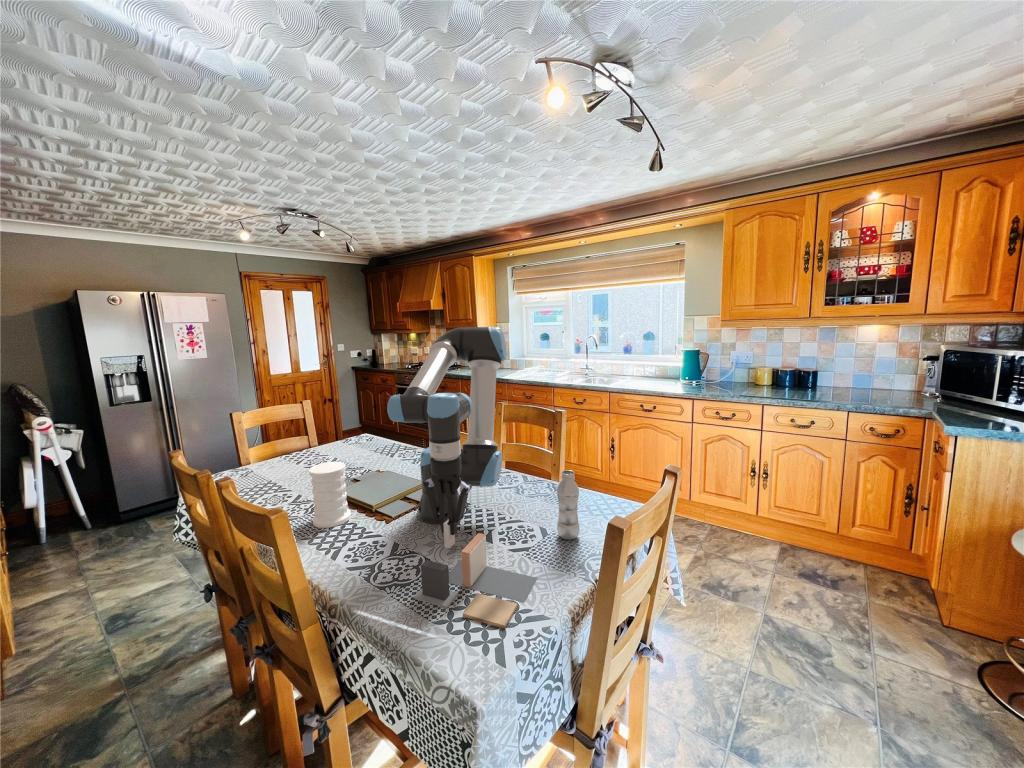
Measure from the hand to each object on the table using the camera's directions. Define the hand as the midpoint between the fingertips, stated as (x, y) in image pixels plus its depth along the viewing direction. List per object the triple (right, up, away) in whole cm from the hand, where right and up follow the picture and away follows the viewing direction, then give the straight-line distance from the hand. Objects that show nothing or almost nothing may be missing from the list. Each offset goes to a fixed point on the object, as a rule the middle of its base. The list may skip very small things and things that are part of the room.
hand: (449, 545), depth 102 cm
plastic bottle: (+32, -4, +17) cm, 37 cm away
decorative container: (-44, -4, +31) cm, 54 cm away
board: (+11, -9, -14) cm, 20 cm away
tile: (+7, -7, -2) cm, 10 cm away
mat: (+10, -8, -3) cm, 13 cm away
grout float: (-2, -9, -9) cm, 13 cm away
